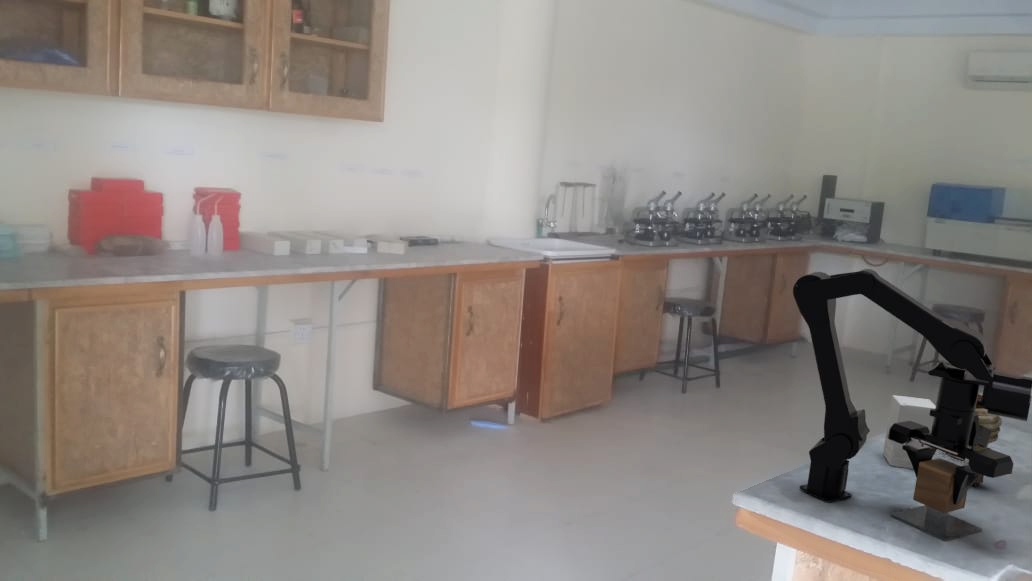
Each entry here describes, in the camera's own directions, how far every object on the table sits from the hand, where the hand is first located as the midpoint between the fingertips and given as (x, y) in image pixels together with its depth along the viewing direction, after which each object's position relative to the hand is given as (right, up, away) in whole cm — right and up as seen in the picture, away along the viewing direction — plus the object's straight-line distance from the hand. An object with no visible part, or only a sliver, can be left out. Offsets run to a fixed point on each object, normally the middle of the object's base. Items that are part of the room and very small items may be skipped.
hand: (939, 497), depth 147 cm
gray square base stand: (0, -5, +1) cm, 5 cm away
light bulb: (+16, -3, +20) cm, 26 cm away
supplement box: (+7, 0, +30) cm, 31 cm away
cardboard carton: (0, -1, 0) cm, 1 cm away
